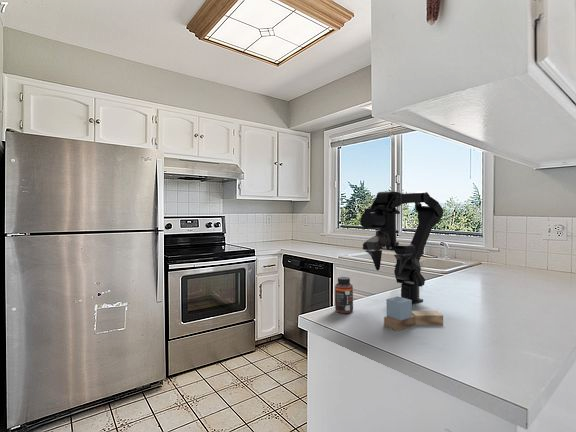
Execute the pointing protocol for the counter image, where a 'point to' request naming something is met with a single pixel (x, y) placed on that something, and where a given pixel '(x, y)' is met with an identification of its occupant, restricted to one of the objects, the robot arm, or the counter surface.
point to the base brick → (398, 323)
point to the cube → (399, 308)
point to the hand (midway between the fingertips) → (387, 272)
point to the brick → (428, 318)
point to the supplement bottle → (343, 295)
